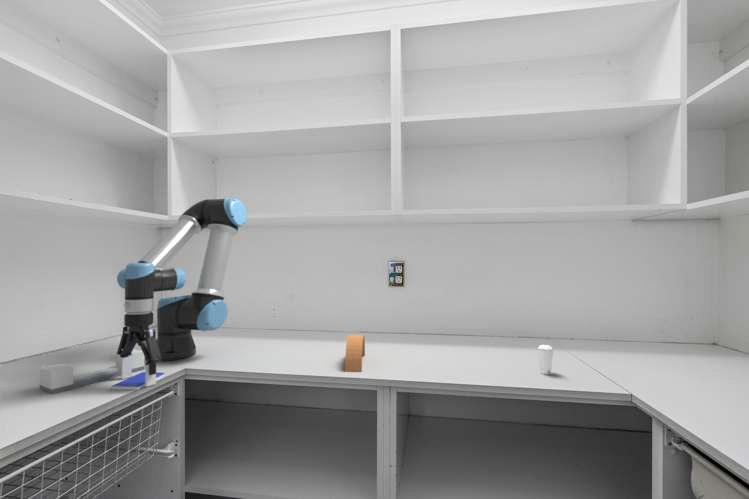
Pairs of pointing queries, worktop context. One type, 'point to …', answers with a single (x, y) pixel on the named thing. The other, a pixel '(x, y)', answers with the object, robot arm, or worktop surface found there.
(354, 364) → the arch
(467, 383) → the worktop surface
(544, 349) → the milkshake
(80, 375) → the rail board
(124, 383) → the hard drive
